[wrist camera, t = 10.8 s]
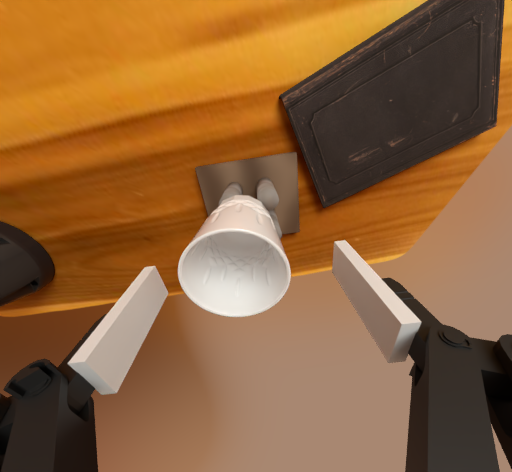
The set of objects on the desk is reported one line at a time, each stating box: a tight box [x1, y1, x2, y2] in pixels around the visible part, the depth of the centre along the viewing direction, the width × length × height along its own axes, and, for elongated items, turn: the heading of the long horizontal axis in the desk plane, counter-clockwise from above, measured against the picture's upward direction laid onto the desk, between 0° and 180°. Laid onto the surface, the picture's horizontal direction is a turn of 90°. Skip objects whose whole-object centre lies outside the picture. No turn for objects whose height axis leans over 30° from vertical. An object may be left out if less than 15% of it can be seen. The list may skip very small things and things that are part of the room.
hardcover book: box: [279, 0, 504, 208], centre depth 24 cm, size 16×23×2 cm
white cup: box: [178, 195, 291, 317], centre depth 18 cm, size 8×8×10 cm
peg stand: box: [195, 152, 300, 239], centre depth 26 cm, size 14×12×8 cm
